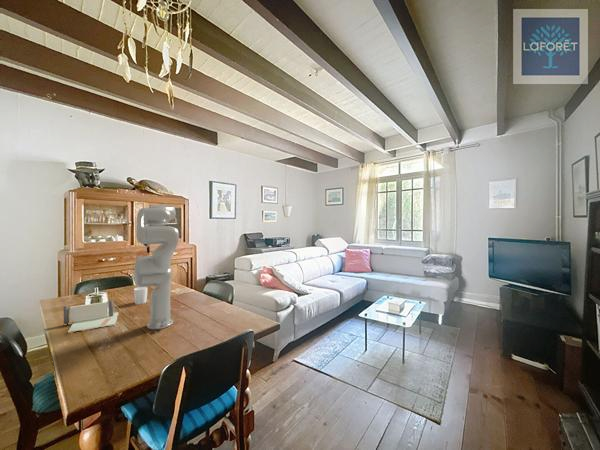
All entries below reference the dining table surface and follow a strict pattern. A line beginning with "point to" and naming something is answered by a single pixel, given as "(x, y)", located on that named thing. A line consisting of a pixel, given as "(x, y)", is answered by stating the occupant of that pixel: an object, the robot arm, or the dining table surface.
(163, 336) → the dining table surface
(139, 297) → the white cup
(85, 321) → the frame
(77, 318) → the white flat panel
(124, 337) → the dining table surface
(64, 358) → the dining table surface
